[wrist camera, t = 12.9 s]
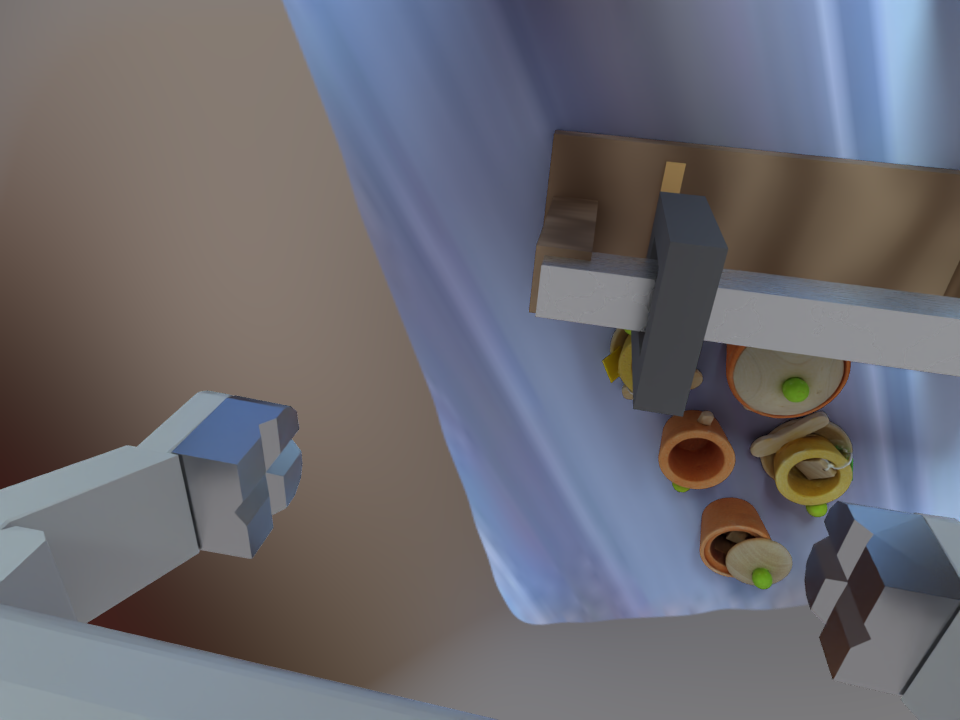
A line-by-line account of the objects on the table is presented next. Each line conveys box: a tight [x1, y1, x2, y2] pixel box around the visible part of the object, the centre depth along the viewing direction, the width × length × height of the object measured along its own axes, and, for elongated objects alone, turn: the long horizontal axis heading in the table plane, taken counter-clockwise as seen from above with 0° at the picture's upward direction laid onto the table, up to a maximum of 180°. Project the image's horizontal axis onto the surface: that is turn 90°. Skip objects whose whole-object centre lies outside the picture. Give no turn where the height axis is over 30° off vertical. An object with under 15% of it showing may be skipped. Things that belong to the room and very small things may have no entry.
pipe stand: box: [529, 130, 960, 377], centre depth 37 cm, size 30×12×14 cm, turn 86°
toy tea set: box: [602, 328, 853, 589], centre depth 47 cm, size 26×16×10 cm, turn 27°
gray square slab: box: [631, 191, 728, 417], centre depth 34 cm, size 2×9×9 cm, turn 176°
